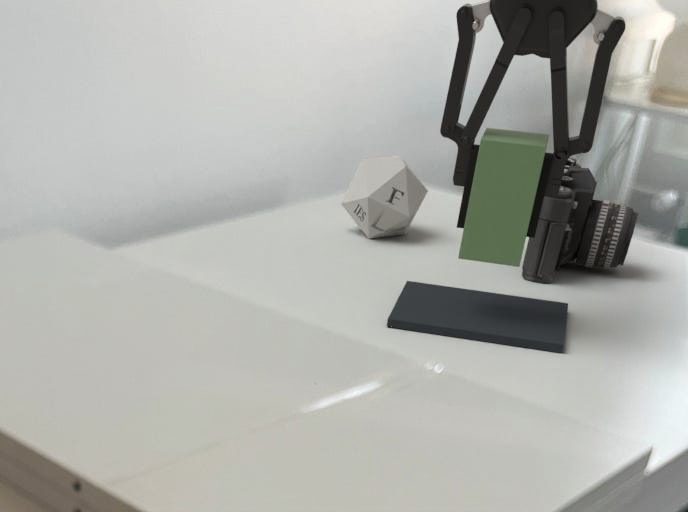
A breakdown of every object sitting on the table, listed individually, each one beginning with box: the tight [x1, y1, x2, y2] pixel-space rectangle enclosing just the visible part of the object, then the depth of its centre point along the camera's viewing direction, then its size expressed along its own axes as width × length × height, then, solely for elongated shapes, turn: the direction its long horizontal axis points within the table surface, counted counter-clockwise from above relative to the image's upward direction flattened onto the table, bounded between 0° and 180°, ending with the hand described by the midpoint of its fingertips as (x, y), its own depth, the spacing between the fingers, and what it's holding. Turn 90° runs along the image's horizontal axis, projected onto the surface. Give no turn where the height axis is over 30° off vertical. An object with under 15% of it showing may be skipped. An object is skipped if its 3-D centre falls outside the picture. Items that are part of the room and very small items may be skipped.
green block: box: [458, 127, 550, 268], centre depth 92 cm, size 6×6×10 cm
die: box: [340, 155, 429, 240], centre depth 119 cm, size 8×9×10 cm
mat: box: [386, 280, 569, 354], centre depth 99 cm, size 16×12×1 cm
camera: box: [521, 157, 639, 284], centre depth 111 cm, size 14×11×10 cm
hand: (496, 228), depth 94 cm, fingers closed on green block, 5 cm apart
